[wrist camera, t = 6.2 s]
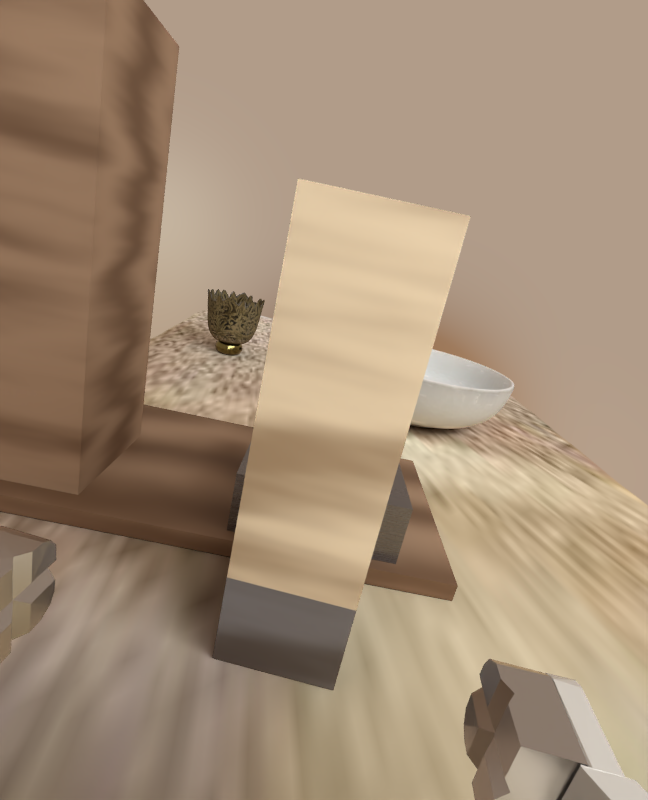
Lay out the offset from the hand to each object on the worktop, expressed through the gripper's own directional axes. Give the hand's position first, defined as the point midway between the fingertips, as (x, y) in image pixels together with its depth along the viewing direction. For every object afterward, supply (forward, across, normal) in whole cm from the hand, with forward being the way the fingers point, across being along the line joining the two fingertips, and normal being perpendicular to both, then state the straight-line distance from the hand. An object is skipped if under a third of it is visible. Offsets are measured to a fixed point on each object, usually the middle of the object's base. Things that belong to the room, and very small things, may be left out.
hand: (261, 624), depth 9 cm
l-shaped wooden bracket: (+21, -5, -10) cm, 24 cm away
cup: (+55, -17, -10) cm, 58 cm away
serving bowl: (+47, +8, -10) cm, 49 cm away
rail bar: (+10, 0, -10) cm, 14 cm away
